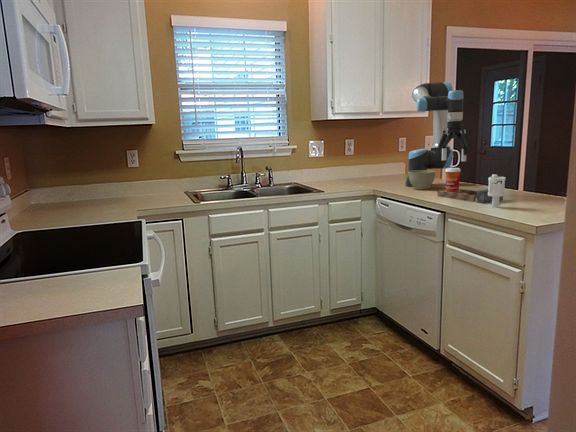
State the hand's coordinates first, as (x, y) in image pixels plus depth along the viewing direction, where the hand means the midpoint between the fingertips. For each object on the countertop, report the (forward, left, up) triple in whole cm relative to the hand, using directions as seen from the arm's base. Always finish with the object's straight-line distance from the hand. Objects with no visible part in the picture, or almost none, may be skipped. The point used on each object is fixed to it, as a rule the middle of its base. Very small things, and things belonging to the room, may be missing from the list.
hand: (453, 160), depth 231 cm
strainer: (+35, -10, -19) cm, 41 cm away
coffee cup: (0, 0, -19) cm, 19 cm away
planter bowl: (-30, +6, -19) cm, 36 cm away
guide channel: (+11, 0, -19) cm, 22 cm away
